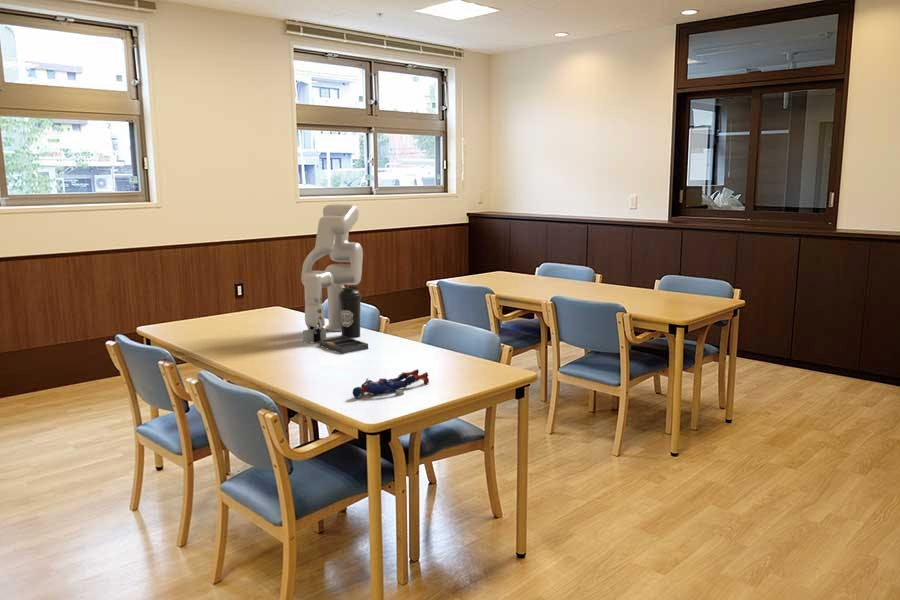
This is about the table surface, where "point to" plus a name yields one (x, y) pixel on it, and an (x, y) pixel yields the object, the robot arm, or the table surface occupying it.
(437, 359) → the table surface
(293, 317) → the table surface
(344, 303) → the water bottle
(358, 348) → the rack
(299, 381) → the table surface
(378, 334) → the table surface
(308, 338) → the rectangular block
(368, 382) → the figurine
